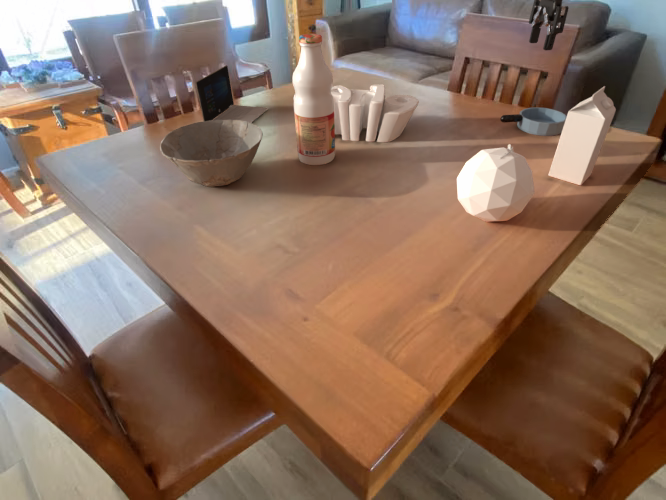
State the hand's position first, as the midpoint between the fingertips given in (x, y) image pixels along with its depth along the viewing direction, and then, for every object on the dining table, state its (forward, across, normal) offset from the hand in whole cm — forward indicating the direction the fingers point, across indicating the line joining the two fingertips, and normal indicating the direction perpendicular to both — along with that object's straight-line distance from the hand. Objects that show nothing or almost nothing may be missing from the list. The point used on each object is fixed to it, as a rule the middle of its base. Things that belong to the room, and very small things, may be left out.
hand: (539, 46), depth 116 cm
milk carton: (+19, -38, +6) cm, 43 cm away
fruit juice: (+19, -22, +63) cm, 69 cm away
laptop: (+19, +8, +86) cm, 88 cm away
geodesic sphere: (+19, -52, +30) cm, 63 cm away
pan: (+19, -10, +3) cm, 22 cm away
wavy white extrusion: (+19, -5, +52) cm, 55 cm away
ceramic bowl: (+19, -30, +86) cm, 93 cm away
